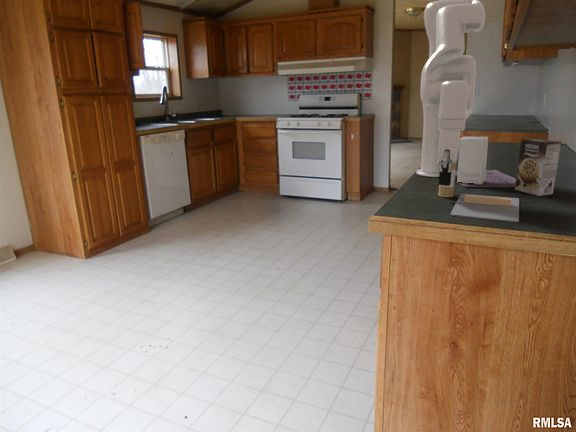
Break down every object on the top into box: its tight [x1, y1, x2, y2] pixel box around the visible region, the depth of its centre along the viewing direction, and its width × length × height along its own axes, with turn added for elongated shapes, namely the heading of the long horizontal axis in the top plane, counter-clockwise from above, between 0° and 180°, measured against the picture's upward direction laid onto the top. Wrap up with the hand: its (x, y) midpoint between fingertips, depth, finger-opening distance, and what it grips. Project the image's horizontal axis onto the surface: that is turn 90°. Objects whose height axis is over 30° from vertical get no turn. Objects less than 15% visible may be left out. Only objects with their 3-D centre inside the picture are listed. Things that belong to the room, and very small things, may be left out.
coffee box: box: [514, 138, 562, 197], centre depth 133 cm, size 9×6×16 cm
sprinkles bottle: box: [437, 154, 458, 198], centre depth 131 cm, size 5×5×14 cm
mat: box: [449, 193, 520, 223], centre depth 120 cm, size 24×16×2 cm, turn 153°
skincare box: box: [457, 135, 489, 185], centre depth 148 cm, size 8×7×16 cm
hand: (446, 181), depth 132 cm, fingers open, 9 cm apart
